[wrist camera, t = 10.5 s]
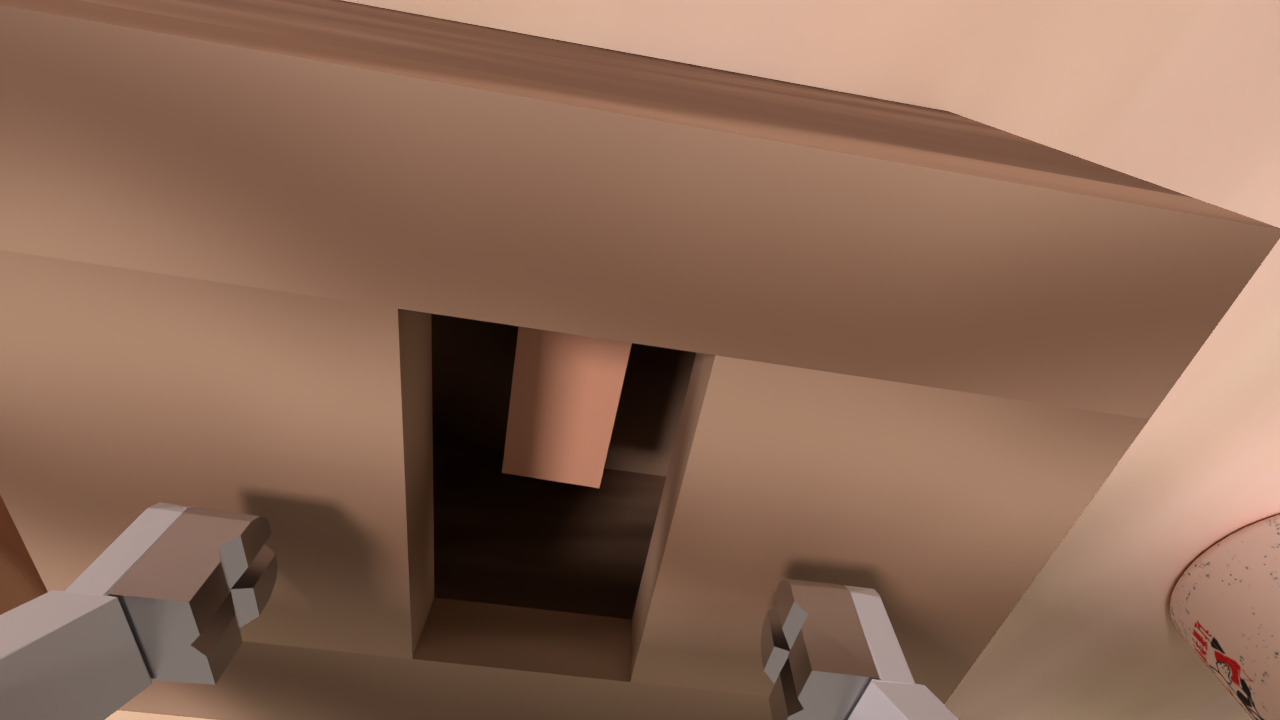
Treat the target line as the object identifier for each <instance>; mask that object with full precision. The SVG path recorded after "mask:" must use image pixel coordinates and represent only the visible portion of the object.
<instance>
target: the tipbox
mask: <svg viewBox="0 0 1280 720" xmlns="http://www.w3.org/2000/svg"><path fill="white" fill-rule="evenodd" d="M1279 238H1280V228H1277V227H1274V226H1272V225H1269V224H1266V223H1263V222H1260V221H1257V220H1255V219H1252V218H1249V217H1246V216H1243V215H1240V214H1238V213H1235V212H1232V211H1229V210H1226V209H1223V208H1221V207H1218V206H1215V205H1212V204H1209V203H1206V202H1204V201H1201V200H1198V199H1195V198H1192V197H1189V196H1187V195H1184V194H1181V193H1178V192H1175V191H1172V190H1170V189H1167V188H1164V187H1161V186H1158V185H1155V184H1153V183H1150V182H1147V181H1144V180H1141V179H1138V178H1136V177H1133V176H1130V175H1127V174H1124V173H1121V172H1118V171H1116V170H1113V169H1110V168H1107V167H1104V166H1101V165H1099V164H1096V163H1093V162H1090V161H1087V160H1084V159H1082V158H1079V157H1076V156H1073V155H1070V154H1067V153H1065V152H1062V151H1059V150H1056V149H1053V148H1050V147H1048V146H1045V145H1042V144H1039V143H1036V142H1033V141H1031V140H1028V139H1025V138H1022V137H1019V136H1016V135H1014V134H1011V133H1008V132H1005V131H1002V130H999V129H997V128H994V127H991V126H988V125H985V124H982V123H980V122H977V121H974V120H971V119H968V118H965V117H963V116H960V115H957V114H954V113H951V112H948V111H943V110H937V109H932V108H926V107H921V106H915V105H910V104H904V103H899V102H893V101H888V100H882V99H877V98H871V97H866V96H861V95H855V94H850V93H844V92H839V91H833V90H828V89H822V88H817V87H811V86H806V85H800V84H795V83H789V82H784V81H778V80H773V79H768V78H762V77H757V76H751V75H746V74H740V73H735V72H729V71H724V70H718V69H713V68H707V67H702V66H696V65H691V64H685V63H680V62H675V61H669V60H664V59H658V58H653V57H647V56H642V55H636V54H631V53H625V52H620V51H614V50H609V49H603V48H598V47H593V46H587V45H582V44H576V43H571V42H565V41H560V40H554V39H549V38H543V37H538V36H532V35H527V34H521V33H516V32H510V31H505V30H500V29H494V28H489V27H483V26H478V25H472V24H467V23H461V22H456V21H450V20H445V19H439V18H434V17H428V16H423V15H418V14H412V13H407V12H401V11H396V10H390V9H385V8H379V7H374V6H368V5H363V4H357V3H352V2H346V1H341V0H0V495H1V497H2V499H3V501H4V503H5V505H6V507H7V509H8V511H9V513H10V515H11V518H12V520H13V522H14V524H15V526H16V528H17V530H18V532H19V534H20V536H21V538H22V540H23V542H24V544H25V546H26V548H27V550H28V552H29V554H30V556H31V558H32V560H33V562H34V565H35V567H36V569H37V571H38V573H39V575H40V577H41V579H42V581H43V583H44V585H45V587H46V589H47V591H48V592H50V591H52V590H62V591H65V590H66V589H67V588H68V587H69V586H70V585H71V584H72V583H73V582H74V581H75V580H76V579H77V578H78V577H79V576H80V575H81V574H82V573H83V572H84V571H85V570H86V569H87V568H88V567H89V566H90V565H91V564H92V563H93V562H94V561H95V560H96V559H97V558H98V557H99V556H100V555H101V554H102V553H103V552H104V551H105V550H106V549H107V548H108V547H109V546H110V545H111V544H112V543H113V542H114V541H115V540H116V539H117V538H118V537H119V536H120V535H121V534H122V533H123V532H124V531H125V530H126V529H127V528H128V527H129V526H130V525H131V524H132V523H133V522H134V521H135V520H136V519H137V518H138V517H139V516H140V515H141V514H142V513H143V512H144V511H145V510H146V509H147V508H149V507H151V506H153V505H155V504H157V503H159V502H162V503H169V504H177V505H184V506H191V507H200V508H207V509H214V510H221V511H228V512H235V513H241V514H248V515H255V516H261V517H265V518H268V522H269V525H270V529H271V533H272V534H271V535H270V537H269V538H268V540H267V541H266V542H265V544H266V545H267V546H268V547H269V548H270V549H271V550H272V551H273V552H274V553H275V554H276V558H277V564H278V567H277V579H276V582H275V585H274V588H273V591H272V594H271V597H270V599H269V601H268V602H267V604H266V606H265V607H264V609H263V611H262V612H261V614H260V616H258V617H257V618H255V619H254V620H252V621H250V622H249V623H247V624H246V625H244V626H243V627H241V628H240V630H241V636H242V644H241V646H240V647H239V649H238V650H237V652H236V654H235V655H234V657H233V658H232V660H231V661H230V663H229V664H228V666H227V668H226V669H225V671H224V672H223V674H222V675H221V677H220V679H219V680H218V682H217V683H216V685H211V684H197V683H183V682H169V681H155V680H152V685H150V686H149V687H148V688H146V689H145V690H144V691H142V692H141V693H140V694H138V695H137V696H136V697H134V698H133V699H131V700H130V701H129V702H127V703H126V704H125V705H123V706H122V707H121V708H119V709H118V710H123V711H133V712H143V713H154V714H164V715H175V716H185V717H195V718H206V719H216V720H772V714H771V709H770V703H769V696H770V694H771V691H772V689H773V687H774V685H775V684H774V683H773V682H772V680H771V679H770V678H769V677H768V675H767V674H766V673H765V672H764V669H763V663H762V657H761V633H762V625H763V622H764V619H765V616H766V614H767V611H768V610H770V609H772V608H773V607H775V606H776V605H777V602H776V597H775V592H776V589H777V587H778V585H779V583H780V582H781V581H782V580H783V579H794V580H803V581H812V582H822V583H831V584H840V585H842V586H844V585H845V586H854V587H862V588H871V589H875V590H876V592H877V593H878V594H879V595H880V597H881V600H882V602H883V605H884V607H885V610H886V612H887V615H888V617H889V620H890V622H891V625H892V627H893V629H894V632H895V634H896V637H897V639H898V642H899V644H900V647H901V649H902V652H903V654H904V657H905V659H906V662H907V664H908V667H909V669H910V671H911V674H912V676H913V679H914V681H915V684H920V685H925V686H926V687H927V688H928V689H929V690H930V691H931V692H932V693H933V694H934V695H935V696H936V697H937V698H938V699H939V700H940V701H941V702H942V703H943V704H945V702H946V701H947V700H948V698H949V697H950V695H951V694H952V693H953V691H954V690H955V688H956V687H957V686H958V684H959V683H960V681H961V680H962V679H963V677H964V676H965V675H966V673H967V672H968V670H969V669H970V668H971V666H972V665H973V663H974V662H975V661H976V659H977V658H978V656H979V655H980V654H981V652H982V651H983V650H984V648H985V647H986V645H987V644H988V643H989V641H990V640H991V638H992V637H993V636H994V634H995V633H996V631H997V630H998V629H999V627H1000V626H1001V625H1002V623H1003V622H1004V620H1005V619H1006V618H1007V616H1008V615H1009V613H1010V612H1011V611H1012V609H1013V608H1014V606H1015V605H1016V604H1017V602H1018V601H1019V600H1020V598H1021V597H1022V595H1023V594H1024V593H1025V591H1026V590H1027V588H1028V587H1029V586H1030V584H1031V583H1032V581H1033V580H1034V579H1035V577H1036V576H1037V575H1038V573H1039V572H1040V570H1041V569H1042V568H1043V566H1044V565H1045V563H1046V562H1047V561H1048V559H1049V558H1050V556H1051V555H1052V554H1053V552H1054V551H1055V550H1056V548H1057V547H1058V545H1059V544H1060V543H1061V541H1062V540H1063V538H1064V537H1065V536H1066V534H1067V533H1068V531H1069V530H1070V529H1071V527H1072V526H1073V525H1074V523H1075V522H1076V520H1077V519H1078V518H1079V516H1080V515H1081V513H1082V512H1083V511H1084V509H1085V508H1086V506H1087V505H1088V504H1089V502H1090V501H1091V500H1092V498H1093V497H1094V495H1095V494H1096V493H1097V491H1098V490H1099V488H1100V487H1101V486H1102V484H1103V483H1104V481H1105V480H1106V479H1107V477H1108V476H1109V475H1110V473H1111V472H1112V470H1113V469H1114V468H1115V466H1116V465H1117V463H1118V462H1119V461H1120V459H1121V458H1122V456H1123V455H1124V454H1125V452H1126V451H1127V450H1128V448H1129V447H1130V445H1131V444H1132V443H1133V441H1134V440H1135V438H1136V437H1137V436H1138V434H1139V433H1140V431H1141V430H1142V429H1143V427H1144V426H1145V425H1146V423H1147V422H1148V420H1149V419H1150V418H1151V416H1152V415H1153V413H1154V412H1155V411H1156V409H1157V408H1158V406H1159V405H1160V404H1161V402H1162V401H1163V400H1164V398H1165V397H1166V395H1167V394H1168V393H1169V391H1170V390H1171V388H1172V387H1173V386H1174V384H1175V383H1176V381H1177V380H1178V379H1179V377H1180V376H1181V375H1182V373H1183V372H1184V370H1185V369H1186V368H1187V366H1188V365H1189V363H1190V362H1191V361H1192V359H1193V358H1194V356H1195V355H1196V354H1197V352H1198V351H1199V350H1200V348H1201V347H1202V345H1203V344H1204V343H1205V341H1206V340H1207V338H1208V337H1209V336H1210V334H1211V333H1212V331H1213V330H1214V329H1215V327H1216V326H1217V325H1218V323H1219V322H1220V320H1221V319H1222V318H1223V316H1224V315H1225V313H1226V312H1227V311H1228V309H1229V308H1230V306H1231V305H1232V304H1233V302H1234V301H1235V300H1236V298H1237V297H1238V295H1239V294H1240V293H1241V291H1242V290H1243V288H1244V287H1245V286H1246V284H1247V283H1248V281H1249V280H1250V279H1251V277H1252V276H1253V275H1254V273H1255V272H1256V270H1257V269H1258V268H1259V266H1260V265H1261V263H1262V262H1263V261H1264V259H1265V258H1266V256H1267V255H1268V254H1269V252H1270V251H1271V249H1272V248H1273V247H1274V245H1275V244H1276V243H1277V241H1278V240H1279ZM519 326H520V327H527V328H533V329H540V330H547V331H554V332H561V333H567V334H574V335H581V336H588V337H594V338H601V339H608V340H615V341H622V342H628V343H632V345H631V350H630V354H629V359H628V363H627V367H626V372H625V376H624V381H623V385H622V390H621V394H620V399H619V403H618V408H617V412H616V417H615V421H614V426H613V430H612V434H611V439H610V443H609V448H608V452H607V457H606V461H605V466H604V470H603V475H602V479H601V484H600V488H594V487H588V486H582V485H575V484H569V483H563V482H556V481H550V480H544V479H537V478H531V477H525V476H519V475H512V474H506V473H502V467H503V458H504V450H505V441H506V432H507V423H508V415H509V406H510V397H511V388H512V380H513V371H514V362H515V354H516V345H517V336H518V327H519Z"/></svg>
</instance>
